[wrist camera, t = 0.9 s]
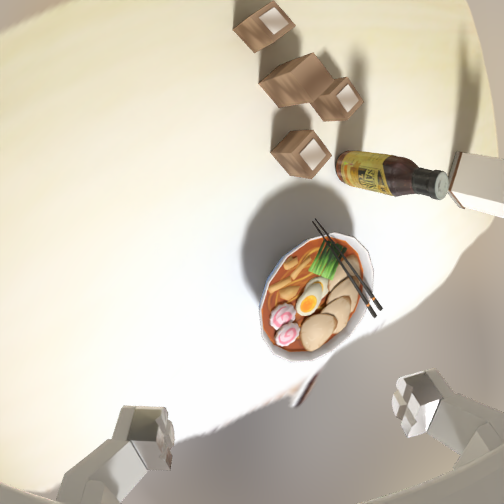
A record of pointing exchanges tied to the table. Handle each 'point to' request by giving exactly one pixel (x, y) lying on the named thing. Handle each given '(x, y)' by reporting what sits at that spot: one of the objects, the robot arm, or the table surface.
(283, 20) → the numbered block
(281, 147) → the white paneled block
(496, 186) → the spiral tower model
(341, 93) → the white-paneled wooden block
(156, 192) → the table surface
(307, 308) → the ramen bowl
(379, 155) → the sauce bottle
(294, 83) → the plain block
